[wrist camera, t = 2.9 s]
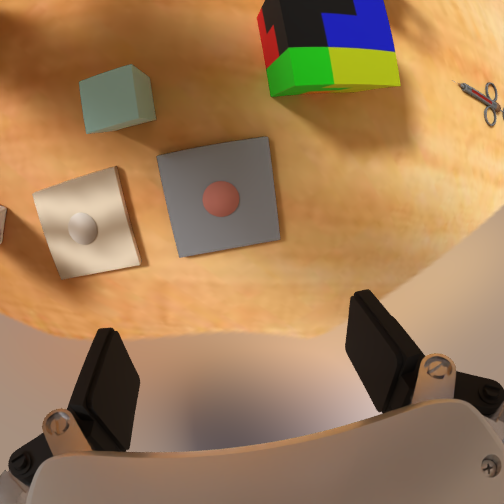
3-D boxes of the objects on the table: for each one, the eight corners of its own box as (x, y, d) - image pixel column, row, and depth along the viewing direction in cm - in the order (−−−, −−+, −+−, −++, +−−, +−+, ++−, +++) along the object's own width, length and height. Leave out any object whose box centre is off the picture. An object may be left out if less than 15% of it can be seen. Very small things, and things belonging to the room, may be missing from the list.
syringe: (448, 57, 28) (455, 56, 27) (509, 98, 31) (516, 99, 30) (446, 103, 31) (453, 104, 30) (507, 137, 34) (513, 139, 33)
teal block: (107, 89, 26) (78, 81, 19) (149, 77, 26) (131, 63, 19) (114, 131, 28) (86, 134, 21) (156, 119, 29) (139, 118, 21)
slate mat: (158, 155, 30) (156, 156, 29) (266, 136, 31) (268, 136, 30) (180, 254, 35) (179, 258, 34) (278, 236, 36) (280, 240, 35)
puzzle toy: (339, 18, 26) (380, -9, 16) (352, 92, 30) (400, 86, 21) (256, 17, 25) (274, -19, 16) (270, 97, 29) (295, 86, 20)
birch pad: (36, 191, 29) (31, 194, 28) (116, 165, 30) (113, 167, 29) (64, 276, 34) (61, 280, 33) (141, 261, 35) (139, 265, 34)
